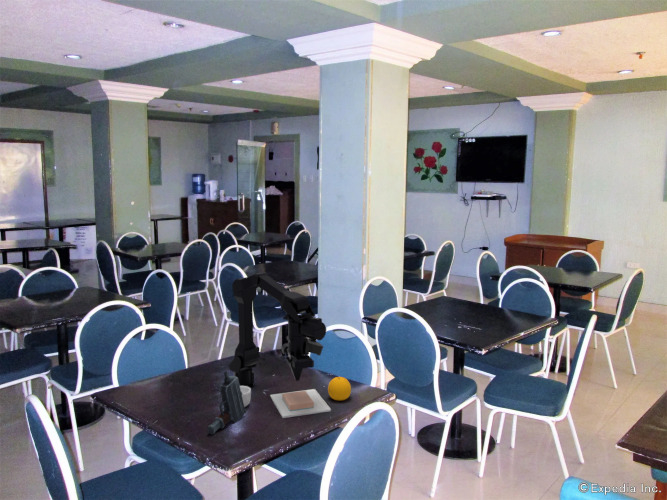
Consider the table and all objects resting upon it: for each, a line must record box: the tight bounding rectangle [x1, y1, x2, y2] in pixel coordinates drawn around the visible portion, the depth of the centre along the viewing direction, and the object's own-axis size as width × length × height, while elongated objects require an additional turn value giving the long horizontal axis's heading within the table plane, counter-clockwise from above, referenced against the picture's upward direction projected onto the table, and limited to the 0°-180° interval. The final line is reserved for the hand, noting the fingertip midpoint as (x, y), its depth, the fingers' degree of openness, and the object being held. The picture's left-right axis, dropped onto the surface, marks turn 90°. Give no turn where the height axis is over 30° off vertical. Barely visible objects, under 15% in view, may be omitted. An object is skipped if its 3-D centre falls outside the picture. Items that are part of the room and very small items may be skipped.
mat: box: [269, 388, 332, 419], centre depth 180 cm, size 16×18×1 cm
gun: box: [207, 370, 248, 436], centre depth 162 cm, size 3×17×15 cm
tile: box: [282, 390, 314, 411], centre depth 179 cm, size 8×2×10 cm
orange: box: [327, 376, 352, 401], centre depth 184 cm, size 8×8×8 cm
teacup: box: [240, 386, 252, 408], centre depth 177 cm, size 10×8×5 cm
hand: (297, 380), depth 178 cm, fingers closed
